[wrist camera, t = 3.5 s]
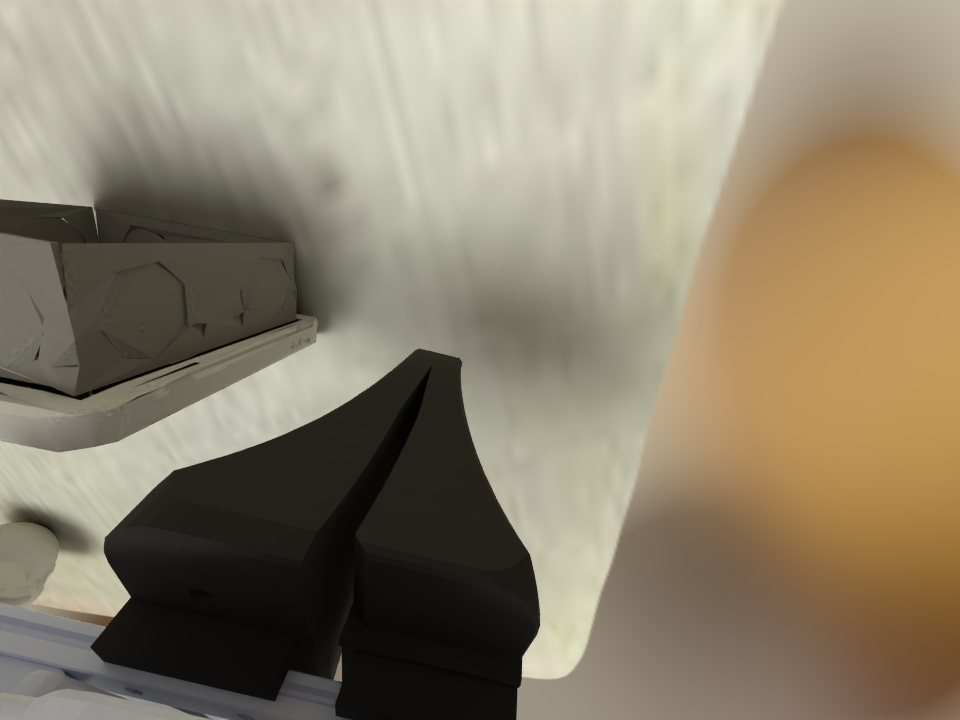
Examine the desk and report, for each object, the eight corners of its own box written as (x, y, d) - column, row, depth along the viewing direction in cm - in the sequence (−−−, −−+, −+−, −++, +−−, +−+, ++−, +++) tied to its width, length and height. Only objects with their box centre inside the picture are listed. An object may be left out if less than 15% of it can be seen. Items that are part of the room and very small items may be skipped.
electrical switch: (112, 296, 16) (-306, 437, 8) (68, 159, 14) (-592, 164, 6) (328, 335, 16) (122, 522, 8) (322, 203, 14) (13, 274, 5)
